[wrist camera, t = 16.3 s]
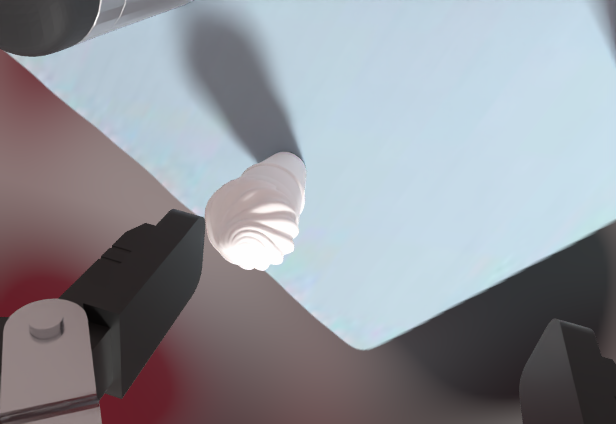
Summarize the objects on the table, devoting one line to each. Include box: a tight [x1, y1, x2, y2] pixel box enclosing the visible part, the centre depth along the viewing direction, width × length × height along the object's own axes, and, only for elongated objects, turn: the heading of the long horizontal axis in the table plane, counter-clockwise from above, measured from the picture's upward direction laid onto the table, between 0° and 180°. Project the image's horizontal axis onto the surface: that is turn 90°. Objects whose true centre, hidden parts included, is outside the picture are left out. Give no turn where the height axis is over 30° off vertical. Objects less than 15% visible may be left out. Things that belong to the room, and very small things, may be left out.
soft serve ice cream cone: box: [205, 152, 307, 270], centre depth 48 cm, size 8×8×16 cm
